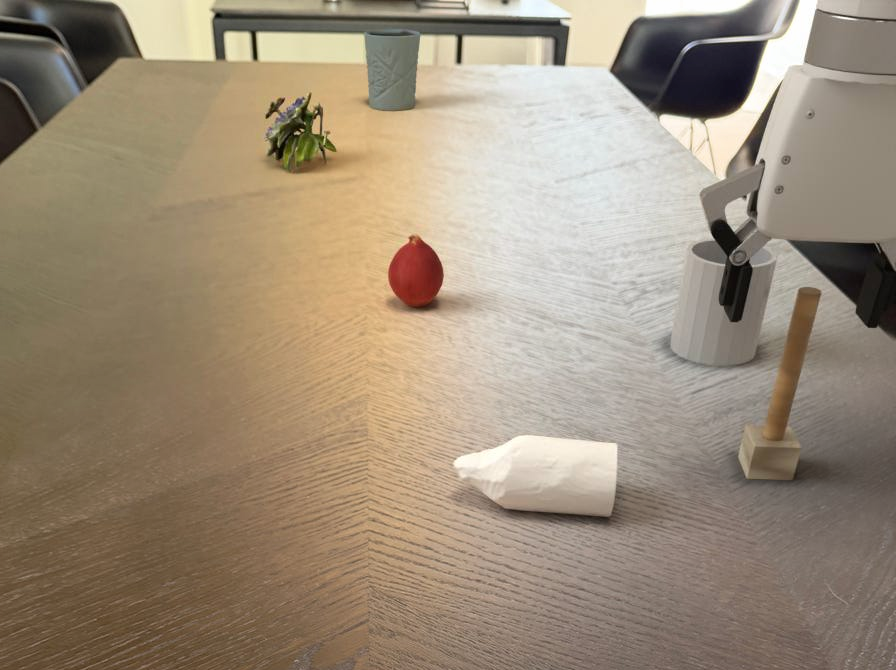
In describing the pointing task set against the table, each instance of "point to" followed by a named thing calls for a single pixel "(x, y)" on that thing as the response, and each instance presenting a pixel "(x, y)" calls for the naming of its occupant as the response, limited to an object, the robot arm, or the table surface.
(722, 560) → the table surface
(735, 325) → the faceted pen holder
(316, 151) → the passion flower
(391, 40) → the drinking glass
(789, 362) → the mallet
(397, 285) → the onion
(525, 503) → the white tapered cylinder
